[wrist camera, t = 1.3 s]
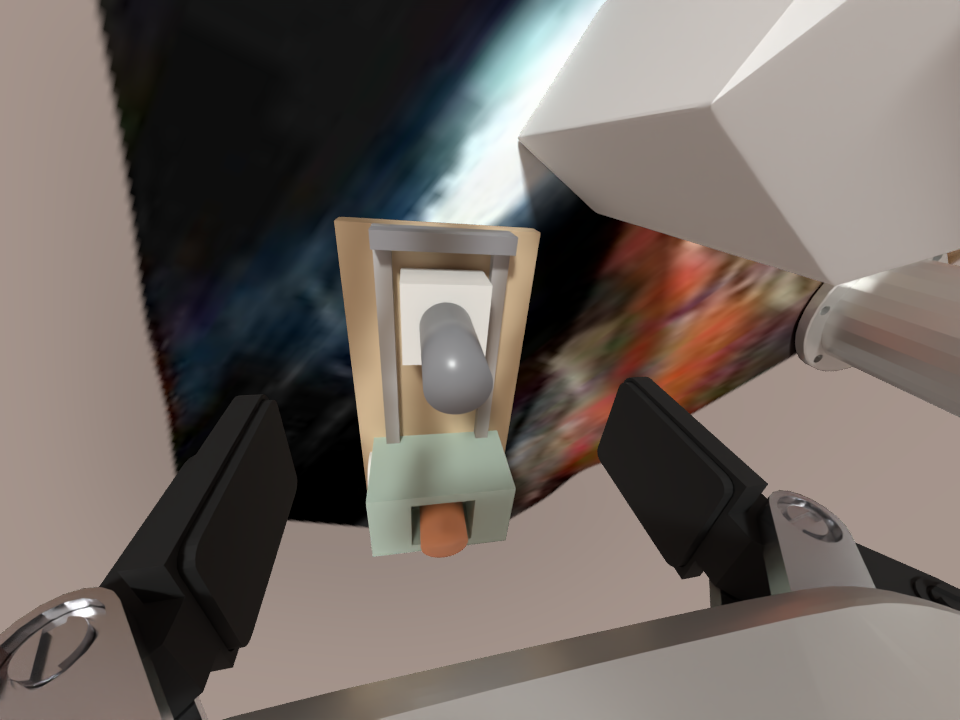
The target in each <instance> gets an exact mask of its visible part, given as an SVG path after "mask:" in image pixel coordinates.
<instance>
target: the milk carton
mask: <svg viewBox="0 0 960 720" xmlns="http://www.w3.org/2000/svg"><path fill="white" fill-rule="evenodd" d="M518 139H519V141H520V142H521V143H522V144H523V145H524V146H525V147H526V148H527V149H528V150H529V151H530V152H531V153H532V154H533V155H535V156H536V157H537V158H538V159H539V160H540V161H541V162H542V163H543V164H544V165H545V166H546V167H547V168H548V169H550V170H551V171H552V172H553V173H554V174H555V175H556V176H557V177H558V178H559V179H560V180H561V181H562V182H563V183H565V184H566V185H567V186H568V187H569V188H570V189H571V190H572V191H573V192H574V193H575V194H576V195H577V196H578V197H580V198H581V199H582V200H583V201H584V202H585V203H586V204H587V205H588V206H589V207H590V208H591V209H593V210H594V211H595V212H596V213H598V214H602V215H605V216H608V217H611V218H615V219H618V220H621V221H624V222H628V223H631V224H634V225H638V226H641V227H644V228H647V229H651V230H654V231H657V232H660V233H664V234H667V235H670V236H674V237H677V238H680V239H683V240H687V241H690V242H693V243H696V244H700V245H703V246H706V247H709V248H713V249H716V250H719V251H723V252H726V253H729V254H732V255H736V256H739V257H742V258H745V259H749V260H752V261H755V262H759V263H762V264H765V265H768V266H772V267H775V268H778V269H781V270H785V271H788V272H791V273H795V274H798V275H801V276H804V277H808V278H811V279H814V280H817V281H821V282H824V283H827V284H830V285H833V286H837V285H840V284H844V283H847V282H850V281H854V280H857V279H861V278H864V277H867V276H871V275H874V274H877V273H881V272H884V271H888V270H891V269H894V268H898V267H901V266H904V265H908V264H911V263H914V262H918V261H921V260H925V259H928V258H931V257H935V256H938V255H941V254H945V253H948V252H951V251H955V250H958V249H960V0H607V1H606V2H605V3H604V4H603V5H602V6H601V7H600V9H599V10H598V12H597V13H596V15H595V17H594V18H593V20H592V21H591V23H590V24H589V26H588V28H587V29H586V31H585V32H584V34H583V35H582V37H581V39H580V40H579V42H578V43H577V45H576V46H575V48H574V50H573V51H572V53H571V54H570V56H569V57H568V59H567V61H566V62H565V64H564V65H563V67H562V68H561V70H560V72H559V73H558V75H557V76H556V78H555V79H554V81H553V83H552V84H551V86H550V87H549V89H548V90H547V92H546V94H545V95H544V97H543V98H542V100H541V101H540V103H539V105H538V106H537V108H536V109H535V111H534V112H533V114H532V116H531V117H530V119H529V120H528V122H527V123H526V125H525V127H524V128H523V130H522V131H521V133H520V134H519V136H518Z"/></svg>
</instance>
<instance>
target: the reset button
mask: <svg viewBox="0 0 960 720" xmlns="http://www.w3.org/2000/svg"><path fill="white" fill-rule="evenodd" d="M419 508H420V541H421V550H422V552H423V553H424V554H426V555H428V556H431V557H437V558H440V557H448V556H451V555H454V554H456V553H458V552H460V551H461V550H463V549H464V548H465V547H466V545H467V543H468V536H467V529H466V523H465V516H464V510H463V503H462V502H452V503H442V504H432V505H422V506H420V507H419Z"/></svg>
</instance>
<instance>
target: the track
mask: <svg viewBox="0 0 960 720" xmlns="http://www.w3.org/2000/svg"><path fill="white" fill-rule="evenodd" d="M334 224H335V232H336V240H337V248H338V256H339V265H340V273H341V281H342V289H343V297H344V306H345V314H346V322H347V330H348V338H349V346H350V355H351V363H352V371H353V379H354V387H355V395H356V404H357V412H358V420H359V428H360V436H361V445H362V453H363V461H364V469H365V477H366V485H367V490H368V460H369V454H370V452H372V450H373V442H374V438H376V437H386V443H387V444H395V443H400V436H410V435H427V434H444V433H460V432H474V435H475V438H487V436H488V431H494V430H497V432H498V435H499V438H500V441H501V444H502V447H503V450H504V454H505V448H506V442H507V435H508V429H509V423H510V417H511V411H512V405H513V399H514V393H515V386H516V380H517V374H518V368H519V362H520V356H521V350H522V344H523V337H524V331H525V325H526V319H527V313H528V307H529V301H530V295H531V288H532V282H533V276H534V270H535V264H536V258H537V252H538V246H539V239H540V232H539V231H537V230H535V229H533V228H519V227H502V226H485V225H469V224H452V223H435V222H418V221H401V220H384V219H368V218H351V217H338V218H337V219H336V220H335V221H334ZM401 268H426V269H456V270H483V272H484V273H485V275H486V276H487V278H488V279H489V281H490V283H491V284H492V286H493V287H492V297H491V306H490V316H489V326H488V335H487V345H486V354H485V358H486V361H487V363H488V366H489V369H490V371H491V374H492V377H493V388H492V392H491V394H490V396H489V398H488V399H487V400H486V401H485V403H483V404H482V405H481V406H480V407H478V408H477V409H475V410H473V411H471V412H468V413H464V414H457V415H455V414H446V413H442V412H440V411H438V410H436V409H434V408H433V407H432V406H431V405H430V404H429V403H428V402H427V400H426V399H425V396H424V393H423V380H422V365H402V337H401V309H400V271H401Z"/></svg>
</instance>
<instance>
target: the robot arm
mask: <svg viewBox="0 0 960 720" xmlns="http://www.w3.org/2000/svg"><path fill="white" fill-rule="evenodd" d="M795 347H796V352H797V354H798V356H799V358H800V359H801V360H802V361H803V362H804V363H806V364H808V365H810V366H812V367H814V368H816V369H818V370H822V371H837V370H842V369H847V368H850V367H855V368H857V369H859V370H861V371H863V372H865V373H868V374H870V375H872V376H874V377H876V378H878V379H880V380H882V381H884V382H886V383H889V384H891V385H893V386H895V387H897V388H899V389H901V390H903V391H906V392H908V393H910V394H912V395H914V396H916V397H918V398H920V399H922V400H924V401H926V402H929V403H930V404H933V405H935V406H937V407H939V408H941V409H943V410H945V411H947V412H949V413H951V414H954V415H956V416H958V417H960V266H957V265H952V264H948V258H947V253H945V254H941V255H938V256H935V257H931V258H928V259H925V260H921V261H918V262H914V263H911V264H908V265H904V266H901V267H898V268H894V269H891V270H888V271H884V272H881V273H877V274H874V275H871V276H867V277H864V278H861V279H857V280H854V281H850V282H847V283H844V284H840V285H837V286H833V285H830V284H827V283H824V284H823V285H822V286H821V287H820V289H819V290H818V291H817V292H816V294H815V295H814V296H813V298H812V299H811V301H810V302H809V304H808V305H807V307H806V309H805V310H804V313H803V315H802V317H801V319H800V321H799V324H798V327H797V331H796V337H795ZM598 457H599V460H600V461H601V463H602V465H603V466H604V468H605V469H606V470H607V472H608V474H609V475H610V476H611V478H612V480H613V481H614V483H615V484H616V486H617V487H618V489H619V490H620V492H621V493H622V495H623V497H624V498H625V500H626V501H627V503H628V504H629V506H630V507H631V509H632V510H633V512H634V513H635V515H636V516H637V518H638V520H639V521H640V523H641V524H642V525H643V527H644V529H645V530H646V532H647V533H648V535H649V536H650V538H651V539H652V541H653V542H654V544H655V545H656V547H657V549H658V550H659V551H660V553H661V554H662V556H663V558H664V559H665V561H666V562H667V563H668V564H669V565H671V566H673V567H674V568H675V570H676V571H677V573H678V574H679V575H680V577H681V579H686V578H692V577H697V576H700V575H701V574H702V573H703V571H704V572H705V573H706V575H707V576H708V577H709V585H710V606H711V608H707V609H703V610H698V611H693V612H689V613H684V614H680V615H675V616H670V617H666V618H661V619H656V620H652V621H647V622H643V623H638V624H633V625H629V626H624V627H620V628H615V629H611V630H606V631H601V632H597V633H593V634H588V635H583V636H579V637H574V638H570V639H566V640H561V641H556V642H552V643H547V644H543V645H538V646H534V647H529V648H524V649H521V650H516V651H511V652H506V653H502V654H497V655H493V656H489V657H484V658H480V659H475V660H471V661H466V662H462V663H458V664H453V665H449V666H445V667H440V668H435V669H431V670H427V671H423V672H418V673H413V674H409V675H405V676H400V677H396V678H391V679H388V680H383V681H378V682H374V683H369V684H365V685H361V686H356V687H352V688H347V689H343V690H339V691H335V692H331V693H327V694H323V695H319V696H315V697H311V698H307V699H303V700H298V701H294V702H290V703H286V704H282V705H278V706H274V707H270V708H266V709H262V710H258V711H254V712H249V713H246V714H241V715H238V716H234V717H230V718H227V719H224V720H960V589H958V588H956V587H954V586H951V585H950V584H948V583H946V582H944V581H941V580H939V579H938V578H935V577H933V576H931V575H928V574H926V573H924V572H922V571H919V570H917V569H915V568H912V567H910V566H908V565H906V564H903V563H901V562H899V561H896V560H894V559H892V558H889V557H887V556H885V555H883V554H880V553H878V552H875V551H873V550H871V549H869V548H867V547H864V546H862V545H860V544H857V543H855V541H854V539H853V537H852V535H851V533H850V532H849V530H848V529H847V527H846V526H845V524H844V523H843V522H842V521H841V520H840V519H839V518H838V517H837V516H836V515H834V514H833V513H832V512H831V511H829V510H828V509H827V508H825V507H824V506H822V505H820V504H819V503H817V502H816V501H814V500H812V499H810V498H808V497H805V496H803V495H801V494H798V493H794V492H791V491H782V490H779V491H775V492H773V493H772V494H771V495H770V496H769V497H768V499H767V498H766V497H765V496H764V495H763V494H761V493H762V492H763V490H764V489H765V488H766V486H767V485H768V483H766V482H765V481H764V480H763V479H762V478H761V477H760V476H759V475H757V474H756V473H755V472H754V471H753V470H752V469H751V468H750V467H749V466H747V465H746V464H745V463H744V462H743V461H742V460H741V459H740V458H738V457H737V456H736V455H735V454H734V453H733V452H732V451H730V449H728V448H727V447H726V446H725V445H724V444H723V443H722V442H721V441H719V440H718V439H717V438H716V437H715V436H714V435H713V434H712V433H711V432H709V431H708V430H707V429H706V428H705V427H704V426H703V425H702V424H700V423H699V422H698V421H697V420H696V419H695V418H694V417H693V416H692V415H690V414H689V413H688V412H687V411H686V410H685V409H684V408H683V407H681V406H680V405H679V404H678V403H677V402H676V401H675V400H674V399H673V398H671V397H670V396H669V395H668V394H667V393H666V392H665V391H664V390H662V389H661V388H660V387H659V386H658V385H657V384H656V383H655V382H654V381H652V380H651V379H650V378H648V377H633V378H627V379H626V380H625V381H624V383H622V384H621V385H620V386H619V389H618V392H617V394H616V397H615V400H614V403H613V406H612V409H611V412H610V415H609V417H608V420H607V423H606V426H605V429H604V432H603V435H602V437H601V440H600V443H599V446H598ZM296 488H297V476H296V472H295V469H294V465H293V461H292V458H291V454H290V450H289V446H288V443H287V439H286V435H285V431H284V428H283V424H282V420H281V417H280V413H279V409H278V405H277V403H276V401H275V400H269V399H268V397H267V396H266V395H243V396H236V397H235V398H234V399H233V401H232V402H231V404H230V405H229V407H228V408H227V410H226V411H225V413H224V414H223V415H222V417H221V418H220V420H219V421H218V423H217V424H216V426H215V427H214V429H213V430H212V432H211V433H210V435H209V436H208V438H207V439H206V441H205V442H204V444H203V445H202V447H201V448H200V450H199V451H198V453H197V454H196V455H195V456H193V457H191V458H189V459H188V460H187V462H186V463H185V464H184V465H183V467H182V468H181V469H180V471H179V472H178V474H177V475H176V477H175V478H174V479H173V481H172V482H171V484H170V485H169V487H168V488H167V490H166V491H165V492H164V494H163V495H162V497H161V498H160V500H159V501H158V503H157V504H156V506H155V507H154V508H153V510H152V511H151V513H150V514H149V516H148V517H147V519H146V520H145V522H144V523H143V524H142V526H141V527H140V529H139V530H138V531H137V533H136V534H135V536H134V537H133V539H132V540H131V542H130V543H129V545H128V546H127V547H126V549H125V550H124V552H123V554H122V555H121V556H120V557H119V559H118V561H117V562H116V563H115V565H114V566H113V568H112V569H111V571H110V572H109V573H108V575H107V576H106V578H105V579H104V581H103V582H102V583H101V585H100V586H99V587H94V588H83V589H80V590H77V591H73V592H70V593H66V594H63V595H61V596H59V597H57V598H55V599H53V600H51V601H48V602H46V603H44V604H42V605H40V606H39V607H37V608H35V609H34V610H32V611H31V612H29V613H28V614H26V615H25V616H23V617H22V618H20V619H18V620H17V621H16V622H14V623H13V624H12V625H11V626H10V627H9V628H7V629H6V630H5V631H4V632H2V633H1V634H0V720H208V718H207V716H206V713H205V711H204V708H203V706H202V704H201V701H200V699H199V697H198V696H199V695H200V694H201V693H202V692H203V690H204V688H205V685H206V682H207V679H208V677H209V674H210V672H212V671H217V670H222V669H227V668H232V667H233V665H234V662H235V659H236V656H237V653H238V649H239V648H241V647H245V646H246V645H247V644H248V643H249V641H250V639H251V636H252V633H253V630H254V627H255V623H256V620H257V617H258V614H259V610H260V607H261V604H262V600H263V597H264V594H265V591H266V587H267V584H268V581H269V578H270V574H271V571H272V567H273V564H274V561H275V558H276V555H277V551H278V548H279V545H280V542H281V538H282V535H283V532H284V529H285V525H286V522H287V519H288V516H289V512H290V509H291V506H292V503H293V499H294V496H295V493H296Z"/></svg>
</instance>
